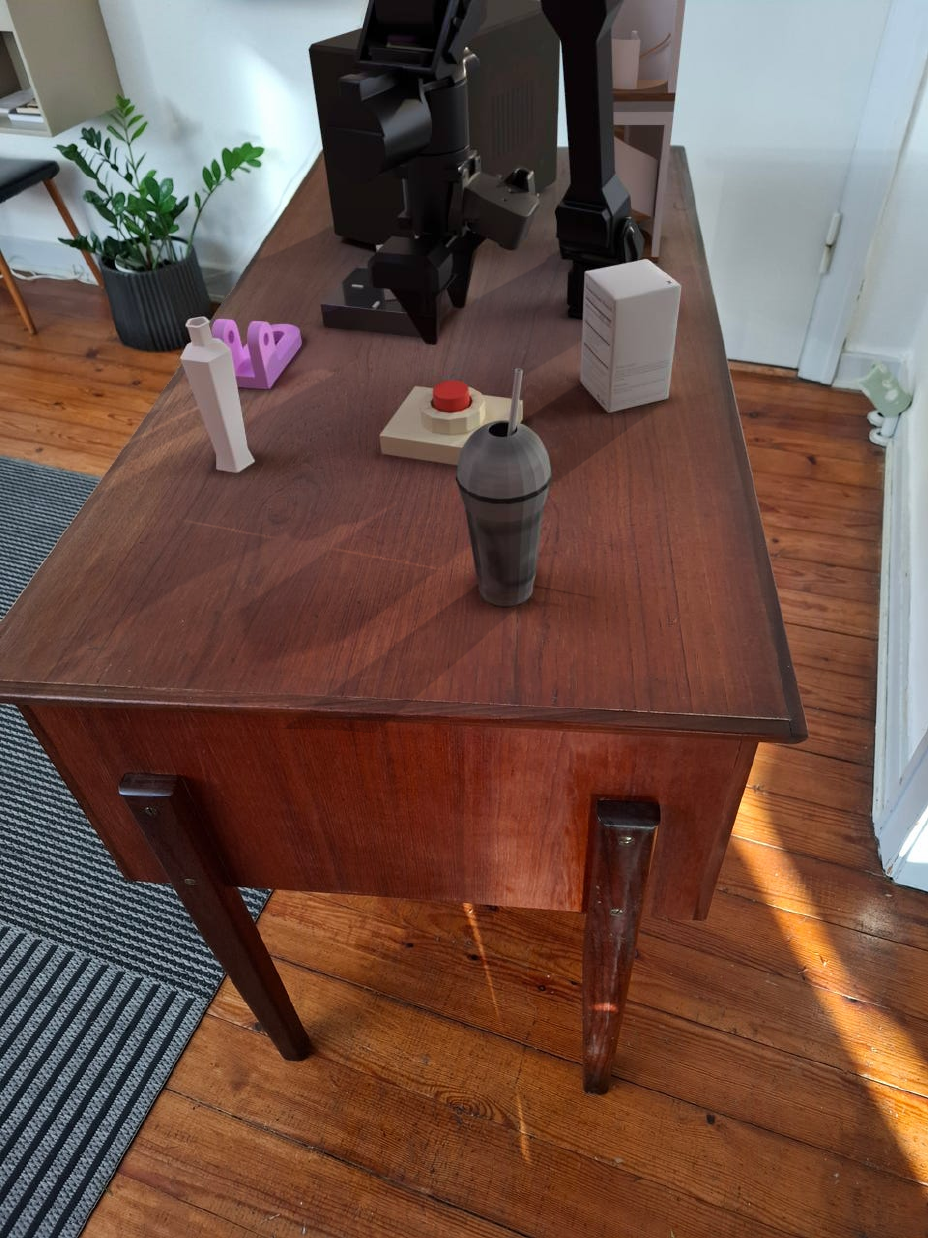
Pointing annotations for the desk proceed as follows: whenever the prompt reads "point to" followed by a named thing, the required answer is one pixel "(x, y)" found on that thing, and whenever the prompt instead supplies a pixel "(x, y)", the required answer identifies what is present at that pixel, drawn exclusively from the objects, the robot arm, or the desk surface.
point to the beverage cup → (504, 503)
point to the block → (440, 425)
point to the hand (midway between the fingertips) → (445, 325)
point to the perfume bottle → (216, 395)
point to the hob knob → (387, 292)
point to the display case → (645, 106)
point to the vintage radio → (497, 113)
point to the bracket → (259, 350)
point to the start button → (451, 396)
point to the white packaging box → (628, 334)
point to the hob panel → (369, 308)
